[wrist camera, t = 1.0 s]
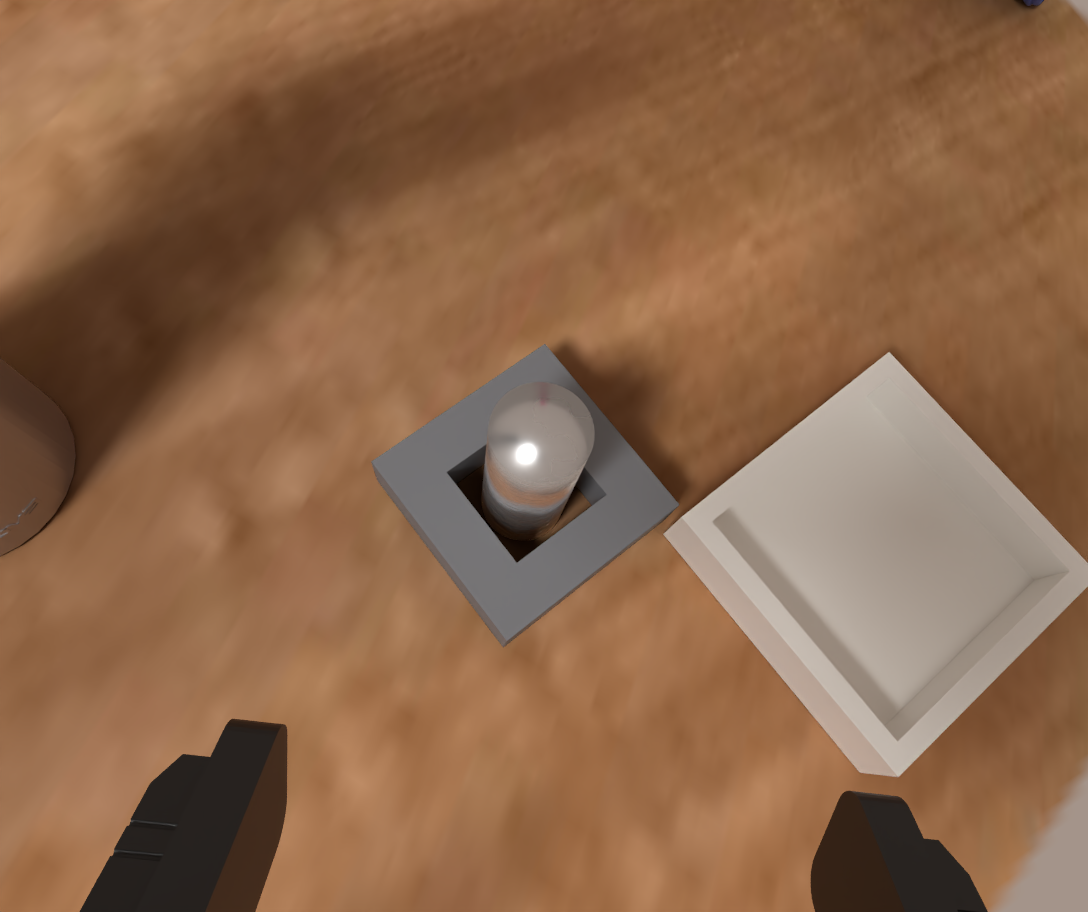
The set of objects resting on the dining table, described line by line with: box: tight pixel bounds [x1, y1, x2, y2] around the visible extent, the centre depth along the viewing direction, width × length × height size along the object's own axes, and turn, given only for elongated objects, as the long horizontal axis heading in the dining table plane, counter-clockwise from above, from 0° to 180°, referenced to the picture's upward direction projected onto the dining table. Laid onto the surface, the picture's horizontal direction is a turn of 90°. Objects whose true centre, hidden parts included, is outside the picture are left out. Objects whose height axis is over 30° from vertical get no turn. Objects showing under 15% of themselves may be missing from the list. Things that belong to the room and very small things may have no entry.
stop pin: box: [481, 382, 595, 541], centre depth 35 cm, size 4×4×10 cm
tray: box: [663, 352, 1088, 777], centre depth 39 cm, size 14×14×4 cm
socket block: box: [372, 344, 679, 647], centre depth 39 cm, size 10×10×3 cm
